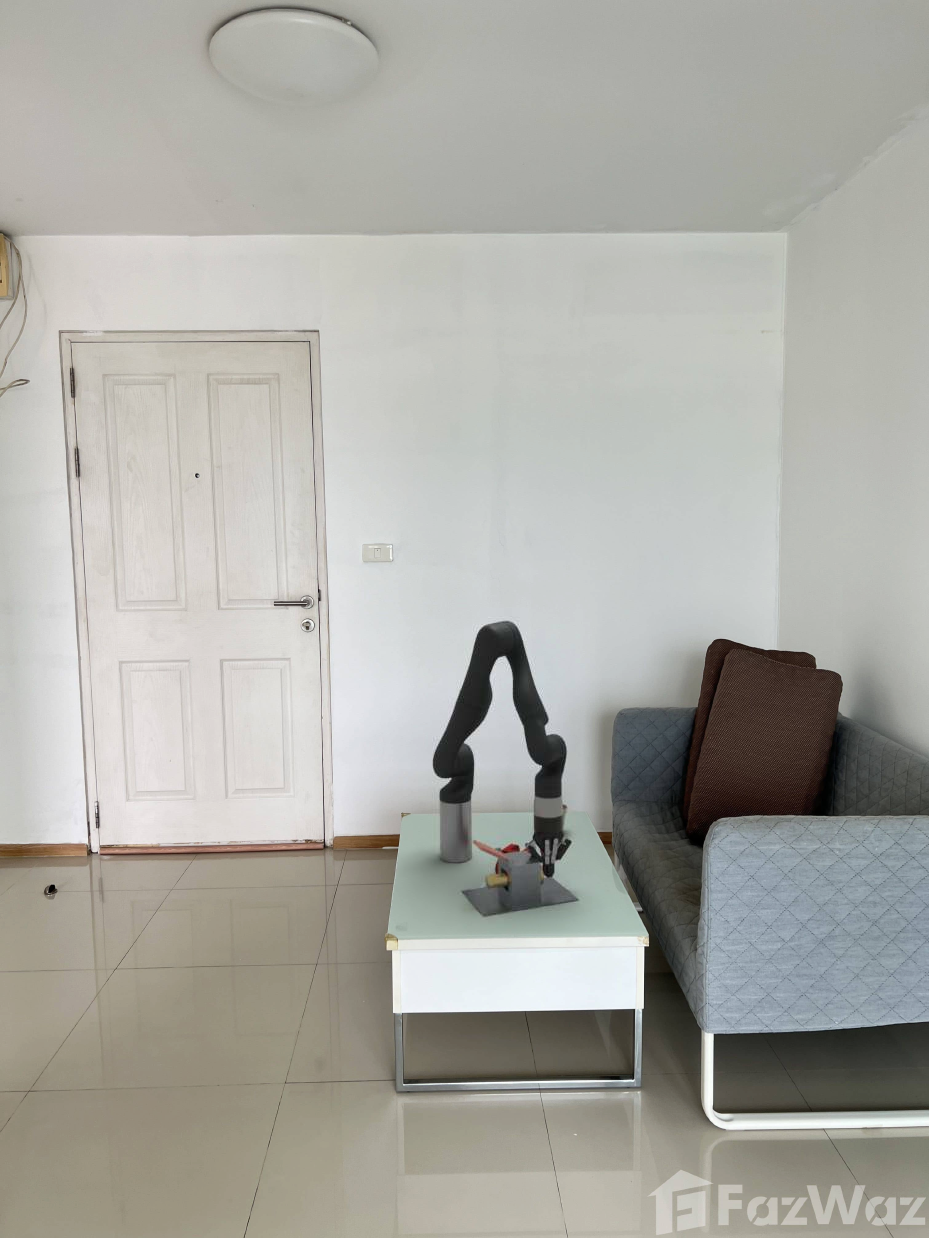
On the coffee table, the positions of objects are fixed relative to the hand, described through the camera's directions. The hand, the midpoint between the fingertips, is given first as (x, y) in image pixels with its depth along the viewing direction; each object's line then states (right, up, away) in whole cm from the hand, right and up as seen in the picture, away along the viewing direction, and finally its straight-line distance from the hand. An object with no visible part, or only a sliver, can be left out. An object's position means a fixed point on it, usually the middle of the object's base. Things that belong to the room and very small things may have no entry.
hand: (548, 876), depth 227 cm
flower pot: (+6, 0, +45) cm, 45 cm away
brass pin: (-9, -2, -3) cm, 10 cm away
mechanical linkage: (-8, -3, +16) cm, 18 cm away
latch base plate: (-8, -4, -3) cm, 9 cm away
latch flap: (-15, +8, -6) cm, 18 cm away
